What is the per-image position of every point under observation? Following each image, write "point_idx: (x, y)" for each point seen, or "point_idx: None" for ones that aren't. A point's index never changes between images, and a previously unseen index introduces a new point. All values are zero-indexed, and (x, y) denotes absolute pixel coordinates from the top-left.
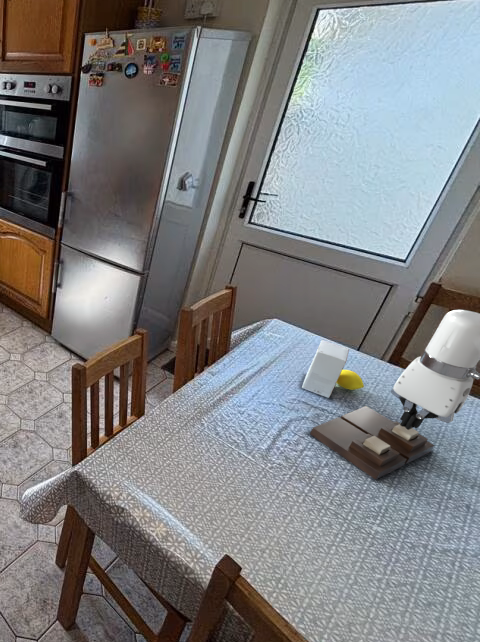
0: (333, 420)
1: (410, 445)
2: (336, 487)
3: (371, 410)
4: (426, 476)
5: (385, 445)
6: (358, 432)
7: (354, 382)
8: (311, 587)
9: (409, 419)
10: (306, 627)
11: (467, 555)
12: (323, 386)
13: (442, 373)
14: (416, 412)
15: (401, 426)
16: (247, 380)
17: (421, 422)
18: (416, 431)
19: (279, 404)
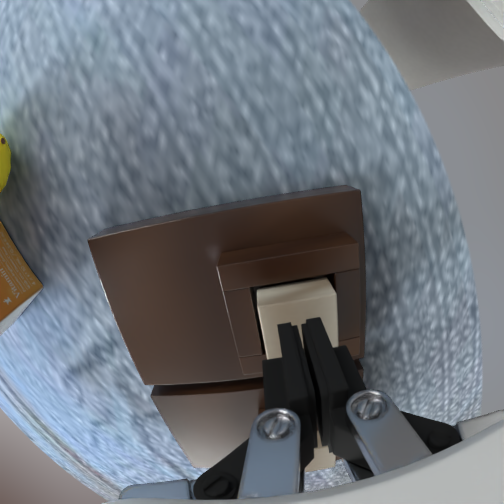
0: (166, 419)
1: (351, 354)
2: (327, 479)
3: (114, 244)
4: (401, 318)
5: (328, 454)
6: (227, 405)
7: None
8: None
9: (317, 425)
10: None
11: (478, 397)
12: (11, 319)
13: None
14: (315, 410)
15: (277, 337)
16: (25, 406)
17: (355, 371)
18: (328, 302)
19: (93, 424)
